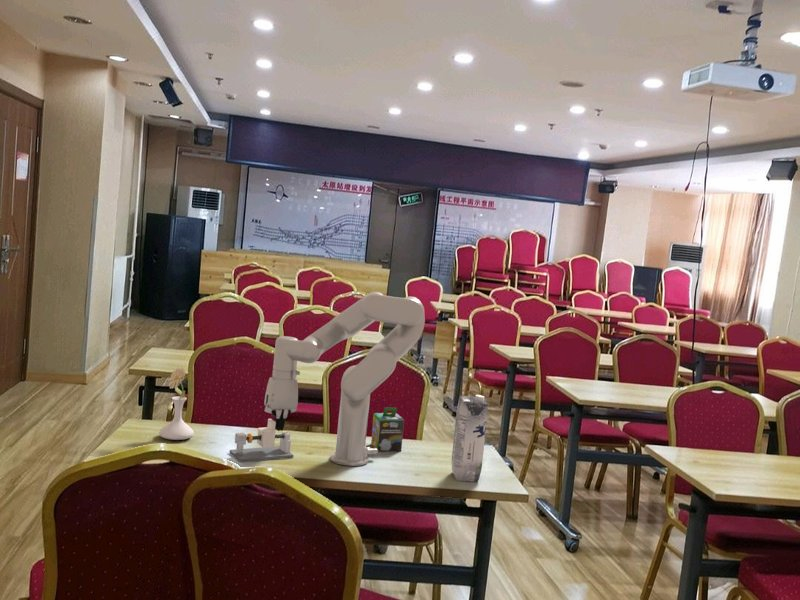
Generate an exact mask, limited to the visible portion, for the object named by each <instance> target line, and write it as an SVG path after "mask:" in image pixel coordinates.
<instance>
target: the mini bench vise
mask: <svg viewBox="0 0 800 600" xmlns="http://www.w3.org/2000/svg"><path fill="white" fill-rule="evenodd" d="M281 434H285V436H284V438H279V445H278V446H274V447H252V448H251V447H250V448H243V455H238V454H236V448H235V449H229V454H230V455H231V456H232V457H233V458H234V459H236V460H237V461H238V462H239V463H246V462H247V463H248V462H260V461H261V462H262V461H273V459H275V460H281V459H280V458H287V459H293V458H294V454H293V453H292V452H291V444H292V441H291V434H290V433H288V431H284V430H283V431H281Z"/></svg>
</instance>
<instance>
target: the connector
mask: <svg viewBox="0 0 800 600" xmlns="http://www.w3.org/2000/svg"><path fill="white" fill-rule="evenodd" d="M246 437H247V434H246V433H244V432H235V435H234V443H235V444H236V448H235V449H236V454H238V455H243V449H244V446H245V445H247V440H246Z"/></svg>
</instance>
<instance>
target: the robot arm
mask: <svg viewBox="0 0 800 600" xmlns="http://www.w3.org/2000/svg"><path fill="white" fill-rule="evenodd" d="M425 317H426V316H425V306H424V305H423V303H422V302H421V300H420V299H418V298H417V297H416V296H410V295H409V296H405V297H398V296H391V295H384V294H383V293H382V292H379V291H372V292H370V293H368V294H366V295H365V296H363V297H362V298H360V299H358V300H357V301H356V302H355V303H353V304H352V305H350V306H348V308H346V309H345V310H342V311H341V312H340V313H338V314H337V315H336V316H334V317H333V318H332V319H331V320H330V321H329V322H327V323H326V324H324V325H323V326H321V327H320V328H318V329H317V330H316V331H314V332H313V333H311V334H310V335H308V336H307V337H306V338H304V339H303V340H299V339H298V338H296V337H293V336H287V335H286V336H285V335H283V336H282V335H281V336H278V337H277V338H276V339H275V345H274V346H275V347H274V355H273V364H272V365H273V366H272V374H271V375H272V376H270V377H269V379H268V381H267V385H266V390H265V395H264V400H263V401H264V403H263V404H264V406H265V407H264V412H266V413H268V414H271V415H272V416H273V417H274V421H275V422H276V424H275V431H276V430H277V431H278V432H280V431H281V432H284V428H285V423H286V419H287V418H288V416H289V415H290V414H291V413H295V412H297V407H298V401H299V386H298V379H297V376H300V374H301V373H300V370H297V366H298V362H301V363H304V364H313V363H315V362H317V361H318V360H319V359H320V357H321V355H323V354H324V353H325V352H326V351H328V350H329V349H331V348H333V347H334V346H335V345H337V344H338V343H340V342H342V341H344V340H348V339H350V338H352V337H354V336H355V335H358V333H360V332H361V331H363V330H365V329H366V328H367V327H368V326H370V325H371V324H373V323H374V322H380V323H386V324H393V325H394V324H395V325H396V326H395V327H394V328H393V329H392V330H391V331H389V332H388V334H387V335H386V336H385V337H384V338H382V339H381V340H380V341H379V342H377V344H375V345H374V346H373V347H371V348H370V349H369V351H368V352H367V355H366V356H365V357H364V358H363V359H362V360H361V361H359V363H357V364H355V365H351V366H349V367H348V368H347V369H345V371H344V373H343V375H342V377H341V382H340V389H341V391H340V402H339V413H338V421H337V422H338V423H337V432H336V433H337V434H336V442H335V443H336V444H335V452H332V453H331V454H330V461H332V463H335V464H337V465H341V466H342V465H343V466H349V467H361V466H363V465H367V464H368V463H369V460H370V459H369V456H370V455H377V454H378V452H379V451H378V450H377V448H375V447H373V448H371V447H370V446H366V442H367V441H366V440H367V432H368V430H367V429H368V420H369V413H370V411H369V410H370V401H371V393H373V392H374V391H375V390H376V389H377V388H378V387H380V385H381V384H382V383H384V382H385V381H386V380H387V379H388V378H389V377H390V376H391V375H392V374H393V372H394V371H395V369H396V366H397V363H398V362H399V360H401V358H403V357H404V356H405V355H406V354H407V353H408V352H409V351H410V350H411V349H412V348H413V347H414V346H415V345H416V344H417V342H418V341H419V339H420V338H421V336H422V333H423V332H424V330H425V329H424V328H425V322H426V319H425Z"/></svg>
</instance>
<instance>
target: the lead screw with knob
mask: <svg viewBox="0 0 800 600" xmlns="http://www.w3.org/2000/svg"><path fill="white" fill-rule="evenodd" d="M246 435H247V437H246V443H248V444H252V443H253V441H257V440H259V439H261V438H262V436H258V435H253V434H252V433H247V434H246ZM284 436H285V434H282V433H281V434H275V439H280V438H284Z"/></svg>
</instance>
